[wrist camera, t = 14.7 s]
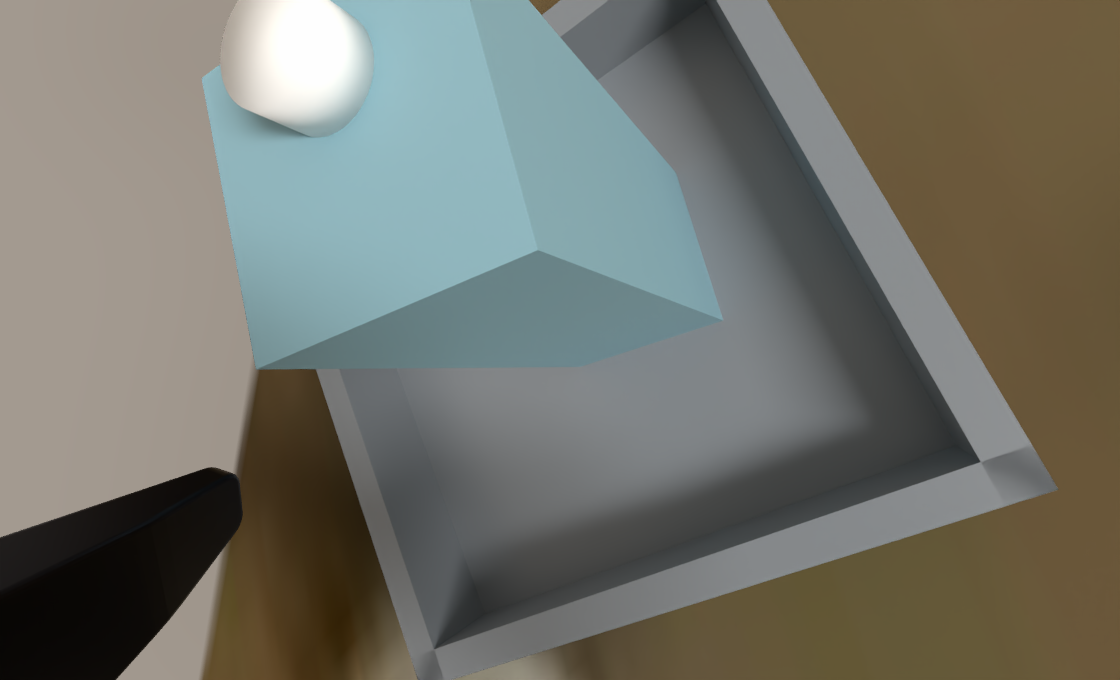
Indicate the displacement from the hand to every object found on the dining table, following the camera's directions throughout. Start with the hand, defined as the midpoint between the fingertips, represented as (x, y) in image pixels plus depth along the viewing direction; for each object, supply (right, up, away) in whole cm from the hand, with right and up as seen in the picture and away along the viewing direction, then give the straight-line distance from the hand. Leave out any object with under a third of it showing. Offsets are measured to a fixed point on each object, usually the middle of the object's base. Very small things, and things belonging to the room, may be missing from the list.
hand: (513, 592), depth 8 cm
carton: (+3, +6, +11) cm, 13 cm away
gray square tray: (+2, +4, +13) cm, 14 cm away
